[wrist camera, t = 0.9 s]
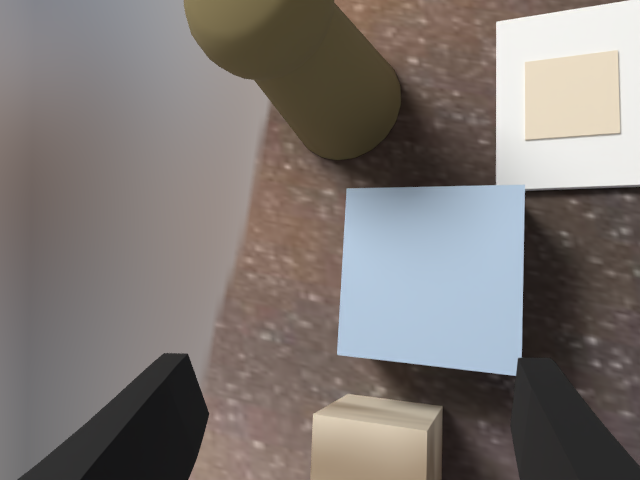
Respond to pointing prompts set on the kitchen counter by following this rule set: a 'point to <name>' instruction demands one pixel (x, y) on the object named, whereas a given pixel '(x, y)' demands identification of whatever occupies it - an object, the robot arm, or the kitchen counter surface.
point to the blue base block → (434, 276)
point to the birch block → (377, 440)
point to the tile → (569, 99)
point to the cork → (304, 68)
